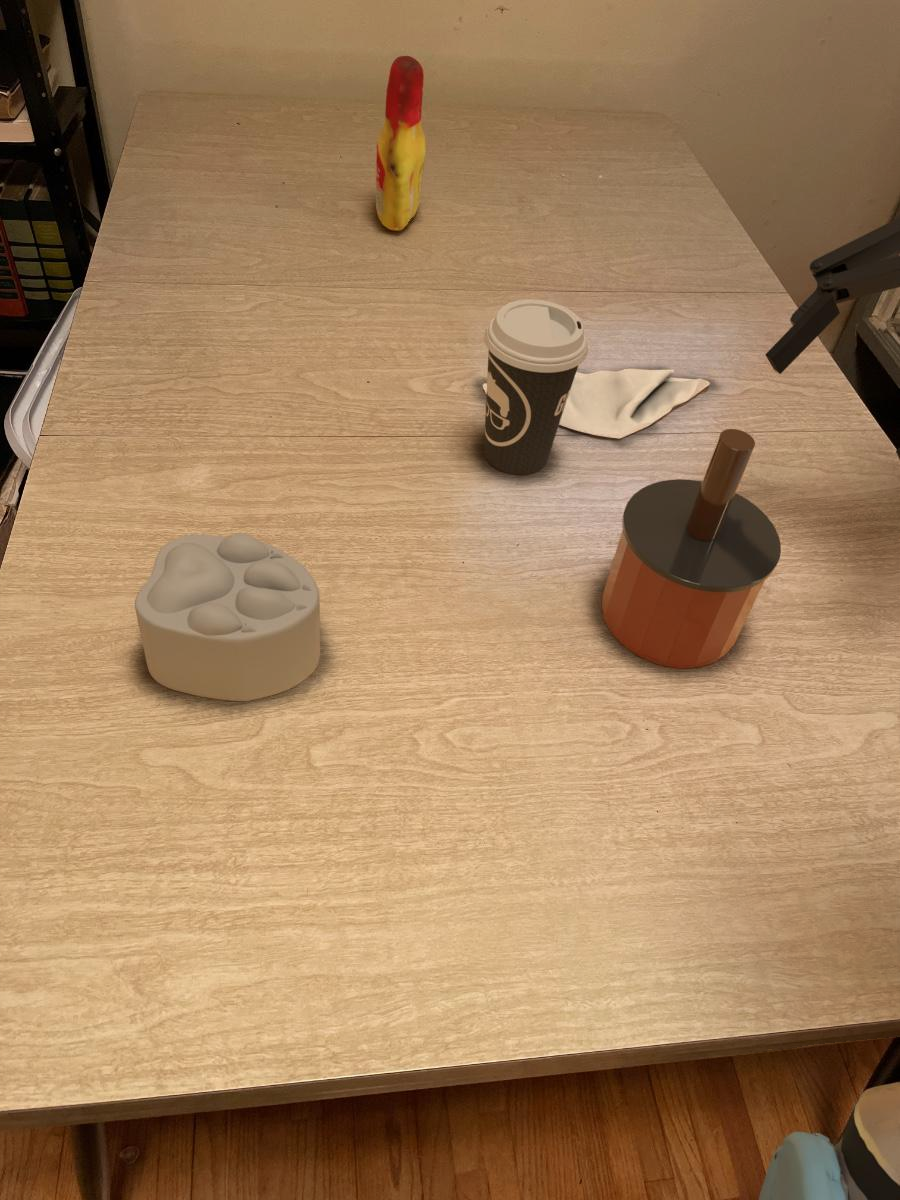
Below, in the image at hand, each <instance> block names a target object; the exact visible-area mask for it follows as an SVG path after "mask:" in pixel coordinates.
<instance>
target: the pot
mask: <svg viewBox="0 0 900 1200" xmlns="http://www.w3.org/2000/svg"><path fill="white" fill-rule="evenodd" d="M765 581H766V580H764V581H763V582H762V583H760V584H758V585H756V586H754V587H752V588H749V589H746V590H742V591H737V592H727V593H718V592H707V591H700V590H696V589H691V588H688V587H685V586H682V585H679V584H677V583H674V582H672V581H670V580H668V579H666V578H664V577H662V576H660V575H659V574H657V573H656V572H654V571H653V570H651V569H650V568H649V567H647V566H646V565H645V564H644V563H643V562H642V561H641V560H640V559H639V558H638V557H637V556H636V555H635V554H634V552H633V551H632V550H631V548H630V547H629V545H628V543H627V541H626V539H625V536H624V532H623V529H622V530H621V533H620V537H619V541H618V544H617V547H616V550H615V553H614V555H613V560H612V563H611V566H610V569H609V573H608V576H607V579H606V582H605V585H604V589H603V592H602V595H601V612H602V616H603V619H604V622H605V624H606V626H607V628H608V630H609V631H610V633H611V634H612V635H613V637H614V638H615V639H616V640H617V641H618V642H619V644H621V645H622V646H623V647H625V649H627V650H628V651H630V652H631V653H633V654H634V655H636V656H637V657H639V658H642V659H644V660H645V661H648V662H651V663H654V664H656V665H659V666H664V667H667V668H676V669H695V668H701V667H706V666H709V665H711V664H714V663H715V662H717V661H719V660H720V659H723V657H725V655H726V654H728V652H730V650H731V648H733V647H734V646H735V643H736V642H737V639H738V638H739V636H740V634H741V632H742V629H743V627H744V625H745V623H746V621H747V620H748V617H749V615H750V612H751V610H752V609H753V606H754V603H755V602H756V600H757V598H758V595H759V594H760V592H761V589H762V587H763V586H764V583H765Z"/></svg>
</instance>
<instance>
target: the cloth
mask: <svg viewBox="0 0 900 1200" xmlns="http://www.w3.org/2000/svg"><path fill="white" fill-rule="evenodd" d="M674 373H675V369H644V368H643V369H641V368H624V369H620V370H617V371H616V370H615V371H613V370H599V371H595V372H590V373H583V372H579V371H576V374H575V377H574V380H573V383H572V386H571V389H570V392H569V395H568V398H567V401H566V404H565V408H564V411H563V414H562V417H561V420H560V423H559V426H562V427H565V428H567V429H571V430H574V431H577V432H581V433H585V434H589V435H593V436H599V437H605V438H612V439H619V440H620V439H622V438H624V437H627V436H629V435H632V434H633V433H636V432H639V431H641V430H643V429H645V428H647V427H649V426H650V425H652V424H653V423H656V421H658V420H660V419H661V418H662V417H664V416H665V415H666V414H667V415H668V413H670V412H671V410H672V409H673V408H675V407H677V406H680V405H681V404H683V403H686V402H688V401H689V400H691V399H692V398H693V397H694V396H696V395H698V394H699V393H700V392H702V391H703V390H704V389H706V388H707V387H709V386H710V385H711V383H710V381H708V380H706V379H703V378H695V379H694V378H681V377H671V376H672V375H674ZM482 389H483V391H484V393H485V395H486V396H487V382H486V383H483V384H482Z"/></svg>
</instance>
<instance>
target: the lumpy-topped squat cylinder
mask: <svg viewBox="0 0 900 1200" xmlns="http://www.w3.org/2000/svg"><path fill="white" fill-rule="evenodd" d="M139 589H140V590H139V591H138V592H137V595H136V597H135V599H134V609H135V613H136V619H137V624H138V629H139V633H140V639H141V642H142V648H143V652H144V657H145V662H146V666H147V670H148V672H149V675H150V677H151V678H152V679H153V680H154V681H156V682H157V683H158V684H159V685H161V686H163V687H165V688H168V689H169V690H172V691H176V692H180V693H184V694H188V695H192V696H196V697H201V698H208V699H214V700H220V701H221V700H222V701H231V702H248V701H254V700H259V699H262V698H267V697H271V696H275V695H278V694H281V693H283V692H286V691H288V690H291V689H293V688H294V687H296V686H297V685H299V684H301V683H302V682H304V681H306V679H308V678H309V677H310V676H311V675H312V674H313V673H314V672H315V670H316V669H317V668H318V665H319V663H320V658H321V616H320V615H321V613H320V612H321V611H320V610H321V607H320V606H321V605H320V590H319V587H318V584H317V583H316V580H315V579H314V577H313V575H312V574H311V572H310V571H309V570H308V569H307V568H306V567H305V566H304V565H303V564H302V563H301V562H300V561H298V560H297V559H296V558H294V557H293V556H291V555H290V554H288V553H286V552H285V551H283V550H281V549H280V548H278V547H276V546H273V545H269V544H267V543H263V542H262V541H261V540H260V539H258V538H257V537H255V536H253V535H251V534H248V533H243V532H242V533H241V532H239V533H237V532H236V533H232V534H229V535H228V536H219V535H210V534H189V535H183V536H180V537H177V538H175V539H172V540H171V541H169V542H167V543H165V544H164V545H163V546H162V547H161V548H160V549H159V550H158V552H157V554H156V557H155V559H154V564H153V569H152V572H151V574H150V575H149V577H148V579H147V580H146V582H145V583H144V584H143V586H142V587H141V588H139Z"/></svg>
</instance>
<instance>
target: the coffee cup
mask: <svg viewBox="0 0 900 1200" xmlns="http://www.w3.org/2000/svg"><path fill="white" fill-rule="evenodd" d="M483 340H484V344H485V346H486V348H487V349H488V352H487V353H488V356H487V357H488V358H487V378H486V383H487V395H486V397H485V399H486V400H485V420H484V437H483V438H484V439H483V456H484V457H485V460H486V461H487V462H488V463H489V464H490V465H491V466H492V467H493V468H495V469H497V470H498V471H501V472H503V473H506V474H510V475H515V476H523V475H525V476H526V475H531V474H534V473H537V472H539V471H541V470H542V469H543V468H544V467H545V466H546V465H547V462H548V459H549V456H550V453H551V450H552V448H553V444H554V441H555V438H556V435H557V432H558V430H559V429H558V428H559V426H560V425H559V423H560V420H561V417H562V414H563V411H564V408H565V404H566V401H567V398H568V395H569V392H570V389H571V386H572V383H573V380H574V377H575V374H576V372H578V368H579V366H580V365H581V364H582V363H583V362H584V361H585V360H586V358H587V356H588V353H589V343H588V338H587V334H586V332H585V330H584V324H583V321H582V320H581V318H580V317H579V316H578V315H577V314H576V313H575V312H574V311H572V310H571V309H569V308H567V307H565V306H563V305H561V304H558V303H556V302H553V301H549V300H542V299H535V298H534V299H518V300H514V301H511V302H509V303H506V304H505V305H503V306H502V307H501V308H499V309H498V311H497V313H496V315H494V316H493V317H492V319H490V322H489V323H488V325H487V327H486V329H485V332H484V336H483Z"/></svg>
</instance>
